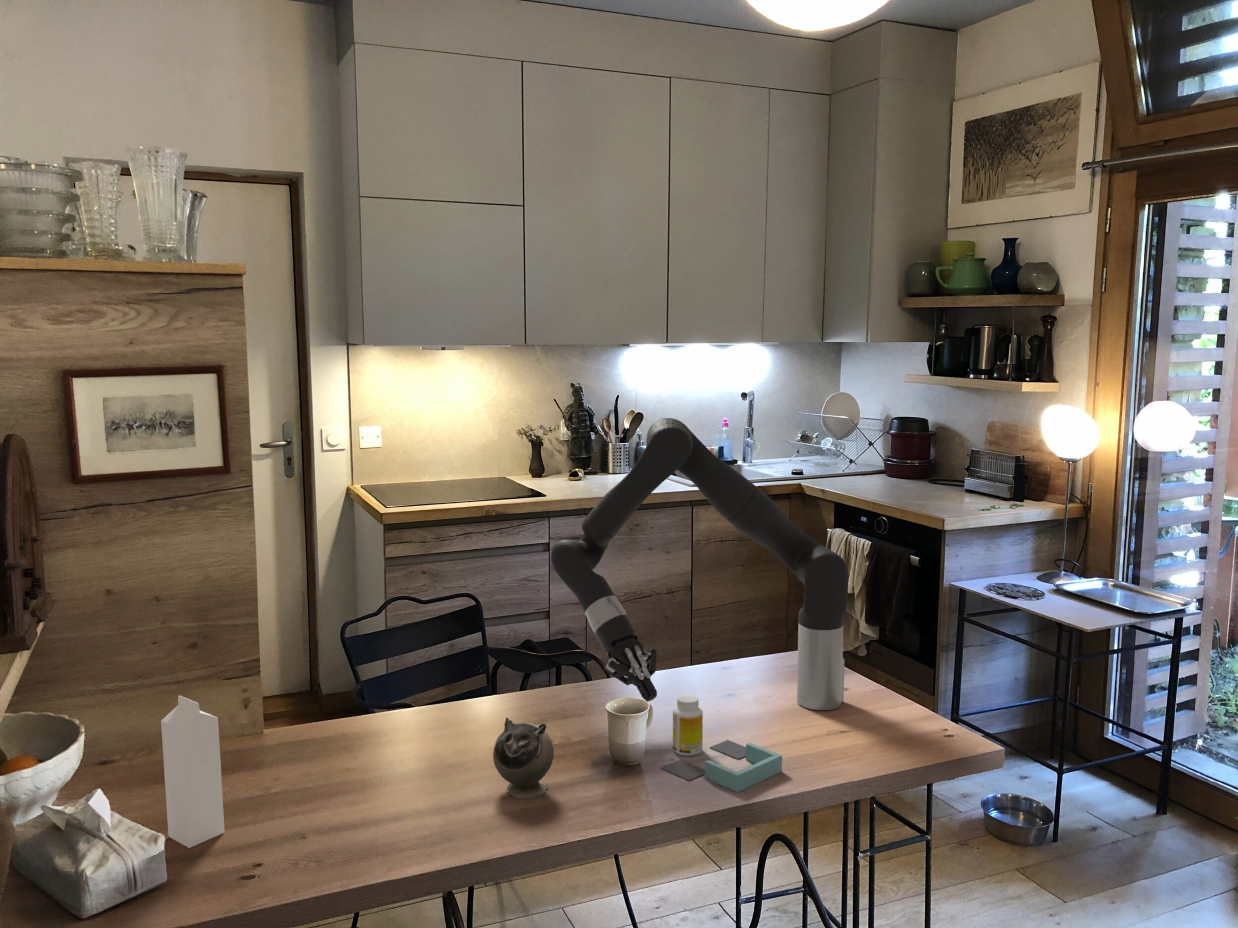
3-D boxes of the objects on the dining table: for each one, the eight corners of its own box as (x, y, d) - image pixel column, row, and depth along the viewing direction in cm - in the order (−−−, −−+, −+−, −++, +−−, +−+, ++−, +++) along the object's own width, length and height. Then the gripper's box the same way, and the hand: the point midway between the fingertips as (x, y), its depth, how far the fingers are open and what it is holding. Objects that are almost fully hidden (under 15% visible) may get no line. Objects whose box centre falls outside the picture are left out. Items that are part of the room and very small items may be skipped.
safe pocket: (749, 758, 178) (749, 742, 178) (781, 771, 172) (782, 755, 172) (704, 777, 170) (705, 761, 170) (737, 792, 164) (737, 775, 164)
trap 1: (680, 760, 177) (680, 759, 177) (708, 772, 172) (708, 771, 172) (660, 768, 174) (660, 767, 174) (688, 781, 169) (688, 779, 169)
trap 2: (727, 740, 186) (727, 739, 186) (755, 751, 181) (755, 750, 181) (709, 747, 183) (709, 746, 183) (738, 759, 177) (738, 758, 177)
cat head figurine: (490, 804, 161) (552, 802, 161) (487, 735, 160) (549, 733, 159) (499, 777, 171) (557, 775, 171) (495, 712, 170) (554, 710, 169)
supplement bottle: (708, 751, 181) (709, 698, 180) (686, 759, 177) (687, 706, 176) (688, 742, 185) (688, 690, 184) (666, 749, 182) (666, 697, 181)
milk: (204, 822, 155) (196, 689, 153) (225, 833, 152) (218, 697, 149) (167, 837, 150) (159, 700, 148) (188, 849, 147) (180, 708, 144)
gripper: (594, 619, 188) (636, 697, 181) (643, 607, 197) (686, 681, 189) (576, 639, 193) (617, 716, 185) (625, 627, 201) (666, 700, 194)
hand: (652, 698), depth 187 cm, fingers closed
